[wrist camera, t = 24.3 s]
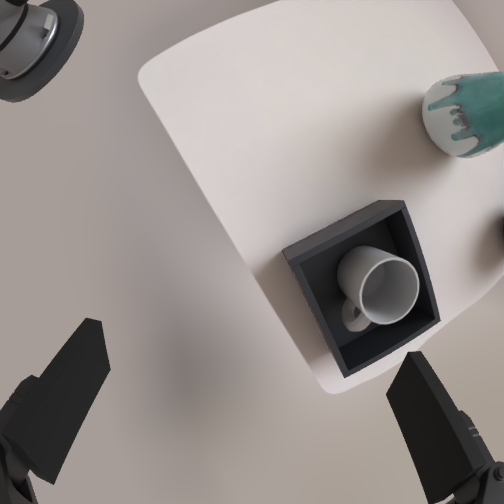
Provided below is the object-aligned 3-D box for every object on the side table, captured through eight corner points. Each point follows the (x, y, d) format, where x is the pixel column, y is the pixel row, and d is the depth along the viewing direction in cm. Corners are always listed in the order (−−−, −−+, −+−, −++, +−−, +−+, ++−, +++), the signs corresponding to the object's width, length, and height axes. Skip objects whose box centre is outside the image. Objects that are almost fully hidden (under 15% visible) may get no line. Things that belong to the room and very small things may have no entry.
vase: (472, 164, 35) (556, 157, 17) (416, 156, 35) (505, 137, 17) (463, 96, 33) (536, 66, 15) (406, 82, 33) (478, 32, 15)
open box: (281, 249, 37) (288, 260, 30) (379, 199, 36) (403, 200, 29) (331, 352, 40) (344, 378, 33) (416, 304, 38) (440, 321, 32)
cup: (395, 261, 36) (430, 277, 28) (356, 324, 38) (381, 354, 29) (353, 234, 36) (383, 244, 27) (313, 302, 37) (331, 330, 28)
